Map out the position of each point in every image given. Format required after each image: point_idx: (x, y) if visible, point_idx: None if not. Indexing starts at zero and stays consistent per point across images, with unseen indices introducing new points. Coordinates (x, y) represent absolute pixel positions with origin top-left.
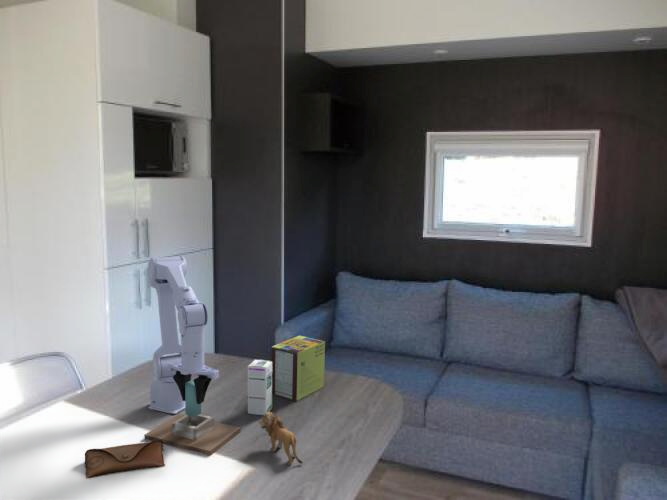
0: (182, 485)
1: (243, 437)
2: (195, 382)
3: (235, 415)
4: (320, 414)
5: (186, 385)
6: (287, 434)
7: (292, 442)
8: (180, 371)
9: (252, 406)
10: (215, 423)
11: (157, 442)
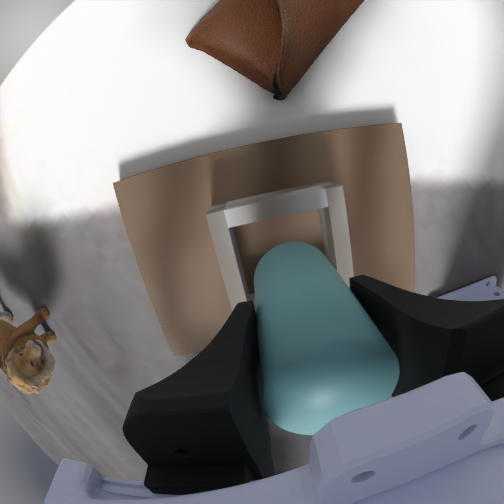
0: (72, 35)
1: (143, 328)
2: (205, 389)
3: None
4: (131, 462)
5: (358, 337)
6: None
7: None
8: (494, 402)
9: None
10: None
11: (275, 58)
